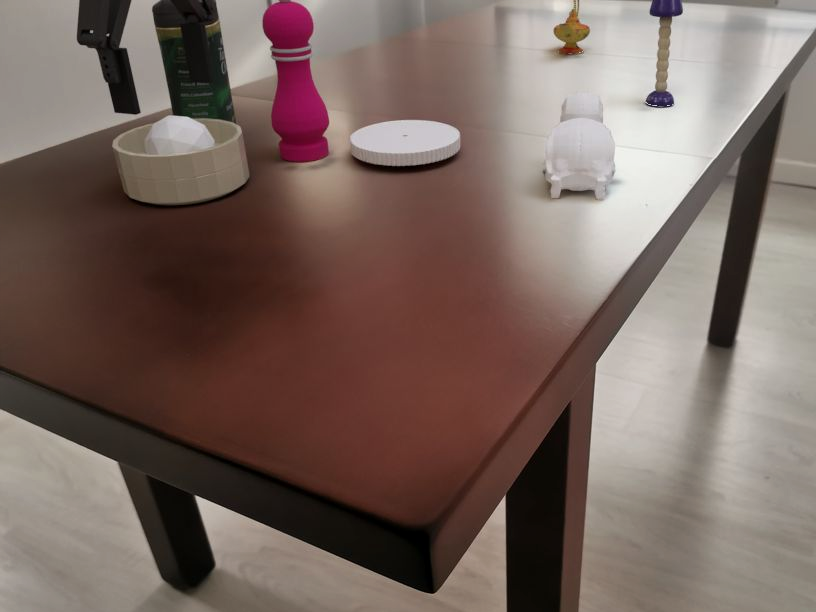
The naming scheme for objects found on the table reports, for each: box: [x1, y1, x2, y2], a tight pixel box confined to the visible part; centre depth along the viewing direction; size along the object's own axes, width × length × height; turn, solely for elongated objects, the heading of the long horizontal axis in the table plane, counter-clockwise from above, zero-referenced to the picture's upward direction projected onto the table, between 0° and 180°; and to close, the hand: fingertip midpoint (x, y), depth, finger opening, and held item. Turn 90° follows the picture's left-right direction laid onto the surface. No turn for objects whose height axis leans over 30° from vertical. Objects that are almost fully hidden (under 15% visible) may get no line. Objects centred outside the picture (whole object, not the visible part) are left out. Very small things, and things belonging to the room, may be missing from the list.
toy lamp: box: [644, 0, 684, 108], centre depth 117 cm, size 5×5×17 cm
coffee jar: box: [151, 0, 237, 124], centre depth 108 cm, size 10×8×19 cm
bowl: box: [111, 118, 250, 206], centre depth 94 cm, size 14×14×6 cm
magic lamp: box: [552, 0, 591, 55], centre depth 149 cm, size 7×18×11 cm, turn 165°
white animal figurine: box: [542, 91, 616, 201], centre depth 93 cm, size 8×8×15 cm
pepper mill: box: [262, 0, 330, 163], centre depth 99 cm, size 7×7×20 cm
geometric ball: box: [145, 115, 215, 155], centre depth 93 cm, size 8×8×8 cm
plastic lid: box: [349, 119, 461, 167], centre depth 103 cm, size 14×14×2 cm
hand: (167, 96), depth 90 cm, fingers open, 13 cm apart
